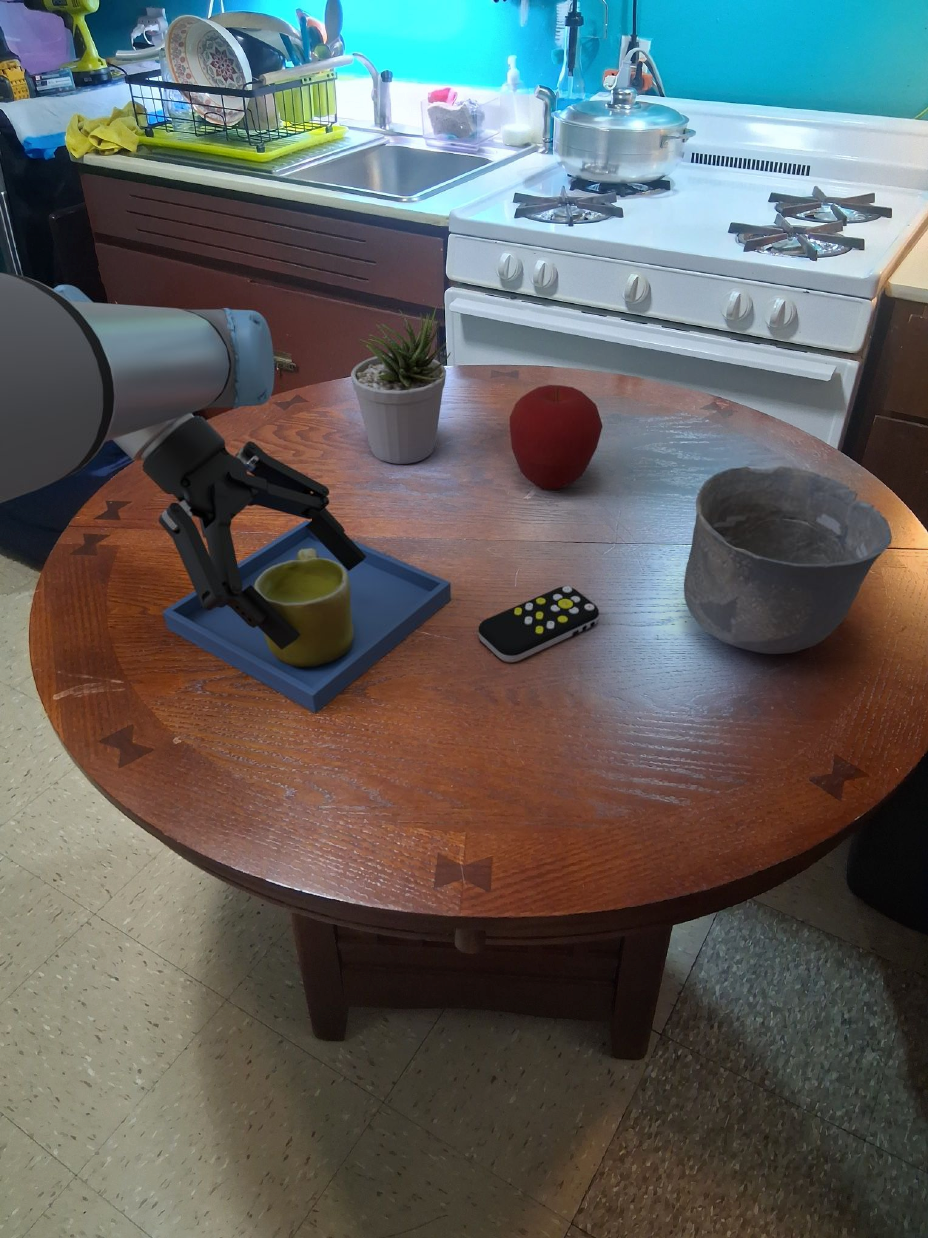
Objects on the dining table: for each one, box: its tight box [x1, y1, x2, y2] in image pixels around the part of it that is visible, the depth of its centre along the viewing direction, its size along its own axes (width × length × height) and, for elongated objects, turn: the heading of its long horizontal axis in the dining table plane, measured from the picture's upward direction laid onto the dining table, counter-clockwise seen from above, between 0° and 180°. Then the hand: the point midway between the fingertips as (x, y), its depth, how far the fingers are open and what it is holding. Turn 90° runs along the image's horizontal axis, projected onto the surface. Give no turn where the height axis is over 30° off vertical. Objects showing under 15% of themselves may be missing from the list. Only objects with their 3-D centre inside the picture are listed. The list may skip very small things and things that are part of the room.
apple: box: [509, 384, 603, 491], centre depth 112 cm, size 12×12×13 cm
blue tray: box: [161, 519, 452, 714], centre depth 94 cm, size 22×22×2 cm
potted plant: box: [350, 307, 452, 465], centre depth 116 cm, size 13×14×20 cm
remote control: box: [477, 585, 600, 663], centre depth 92 cm, size 6×13×2 cm, turn 124°
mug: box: [254, 548, 354, 668], centre depth 88 cm, size 12×10×10 cm
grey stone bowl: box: [683, 465, 893, 655], centre depth 87 cm, size 18×18×15 cm
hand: (326, 601), depth 87 cm, fingers open, 13 cm apart
